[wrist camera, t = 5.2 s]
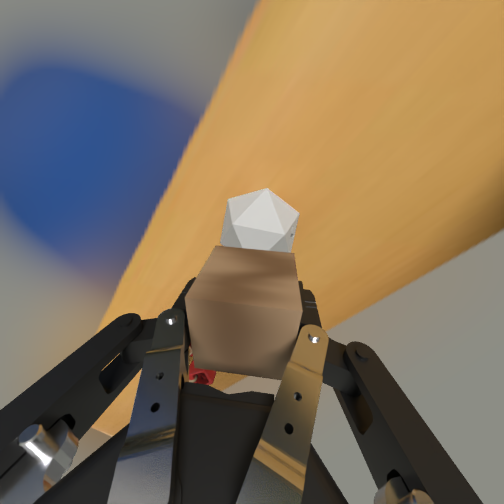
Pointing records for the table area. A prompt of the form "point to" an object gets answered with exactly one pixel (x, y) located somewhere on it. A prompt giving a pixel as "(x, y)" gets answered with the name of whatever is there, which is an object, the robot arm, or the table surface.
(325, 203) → the table surface
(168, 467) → the robot arm
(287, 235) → the die
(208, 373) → the toy fire truck
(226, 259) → the walnut block
